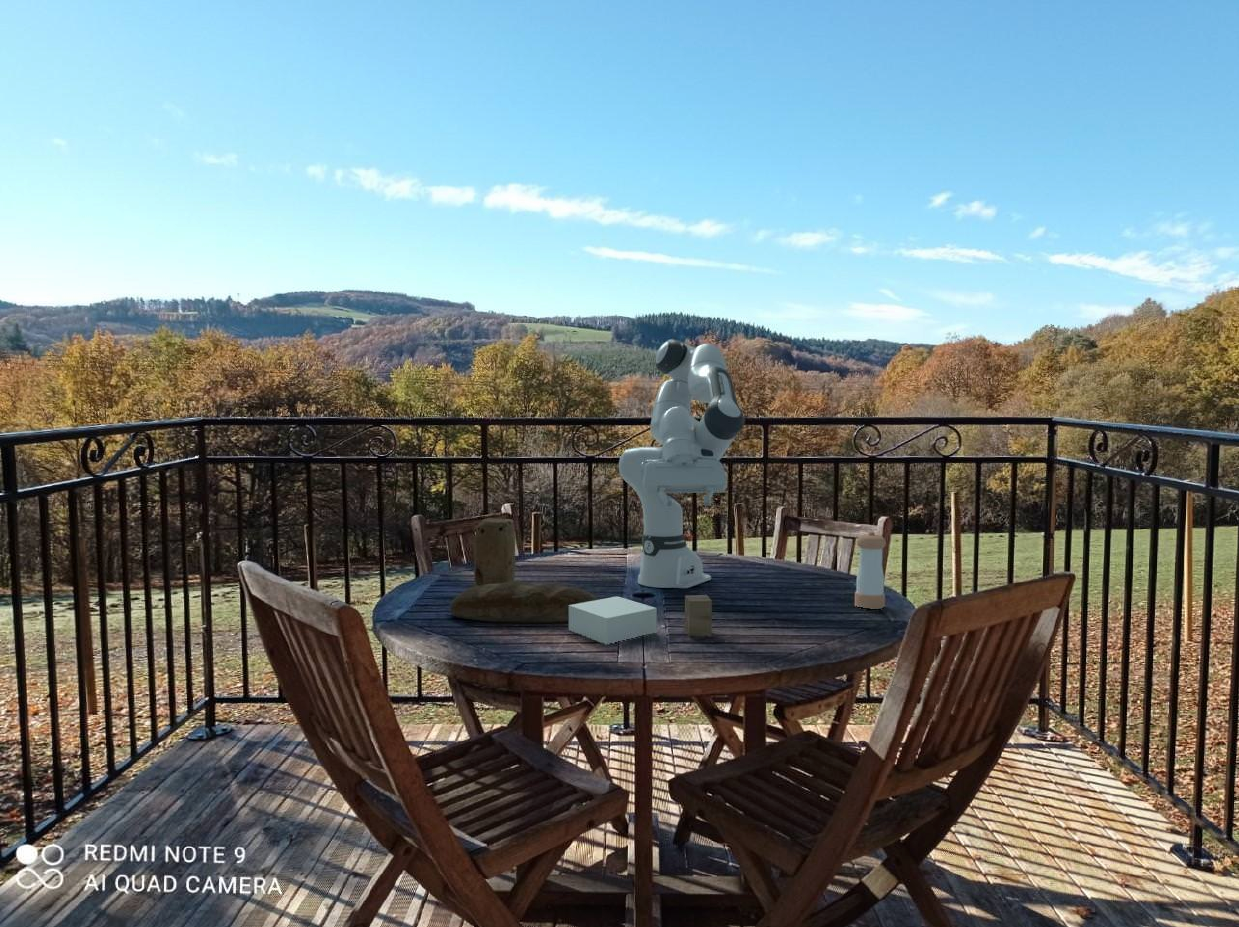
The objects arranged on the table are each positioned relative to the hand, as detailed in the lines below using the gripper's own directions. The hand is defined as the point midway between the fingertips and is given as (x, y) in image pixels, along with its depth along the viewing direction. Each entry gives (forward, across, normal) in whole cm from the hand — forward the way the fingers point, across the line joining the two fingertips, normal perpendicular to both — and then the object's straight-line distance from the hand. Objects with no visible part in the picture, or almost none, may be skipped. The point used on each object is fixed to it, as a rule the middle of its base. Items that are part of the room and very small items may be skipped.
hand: (688, 504), depth 185 cm
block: (-2, -47, +41) cm, 63 cm away
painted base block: (+26, -19, +13) cm, 35 cm away
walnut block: (+28, 0, +11) cm, 30 cm away
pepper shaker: (+14, +48, +25) cm, 56 cm away
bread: (+15, -38, +24) cm, 48 cm away
